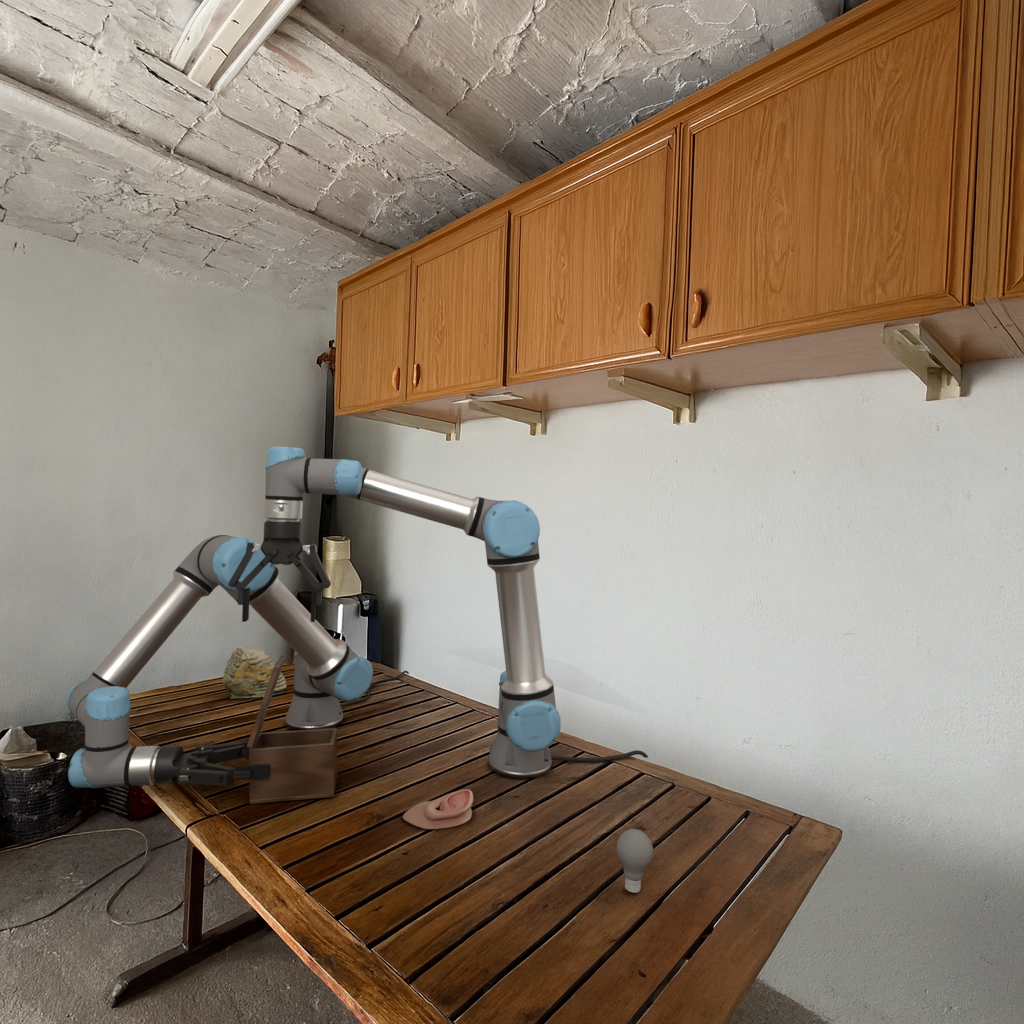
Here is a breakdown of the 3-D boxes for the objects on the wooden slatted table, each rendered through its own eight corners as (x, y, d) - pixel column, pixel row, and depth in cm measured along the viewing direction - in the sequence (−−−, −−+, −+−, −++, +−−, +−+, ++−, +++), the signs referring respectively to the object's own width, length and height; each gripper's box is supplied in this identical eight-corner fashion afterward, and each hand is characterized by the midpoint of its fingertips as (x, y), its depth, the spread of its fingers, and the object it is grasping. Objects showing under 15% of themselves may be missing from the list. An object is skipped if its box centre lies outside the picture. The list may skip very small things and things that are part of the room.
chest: (337, 777, 142) (337, 727, 142) (333, 796, 133) (333, 744, 132) (258, 783, 139) (258, 732, 138) (249, 804, 129) (249, 750, 129)
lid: (285, 656, 139) (249, 646, 137) (278, 667, 130) (239, 657, 128) (260, 731, 138) (223, 722, 137) (251, 748, 129) (212, 738, 128)
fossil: (218, 695, 195) (220, 647, 195) (278, 685, 208) (279, 640, 207) (228, 703, 189) (230, 653, 188) (289, 692, 201) (290, 645, 201)
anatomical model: (397, 804, 123) (417, 779, 135) (396, 824, 123) (417, 798, 135) (462, 814, 121) (478, 788, 132) (462, 835, 121) (477, 807, 132)
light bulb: (610, 879, 108) (613, 822, 108) (644, 879, 109) (647, 822, 109) (619, 902, 102) (622, 840, 102) (655, 901, 103) (658, 840, 103)
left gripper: (175, 761, 141) (281, 757, 145) (137, 809, 119) (263, 803, 124) (176, 727, 141) (282, 724, 145) (139, 770, 119) (264, 765, 124)
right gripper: (215, 518, 127) (211, 623, 128) (343, 523, 132) (339, 624, 133) (224, 517, 135) (220, 616, 135) (345, 521, 140) (341, 617, 140)
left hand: (273, 760), depth 135 cm, fingers closed on chest, 9 cm apart
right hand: (279, 620), depth 134 cm, fingers open, 13 cm apart
